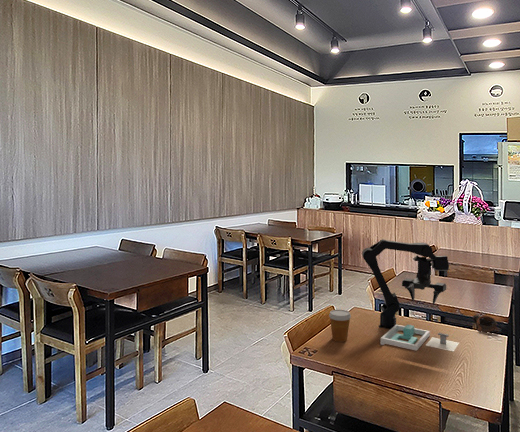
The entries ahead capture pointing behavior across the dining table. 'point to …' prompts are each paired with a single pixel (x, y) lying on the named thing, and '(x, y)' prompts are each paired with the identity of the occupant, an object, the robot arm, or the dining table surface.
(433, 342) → the stake board
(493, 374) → the dining table surface
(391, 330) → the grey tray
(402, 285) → the robot arm
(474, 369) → the dining table surface
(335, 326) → the disposable coffee cup
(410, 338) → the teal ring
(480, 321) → the pottery mug
